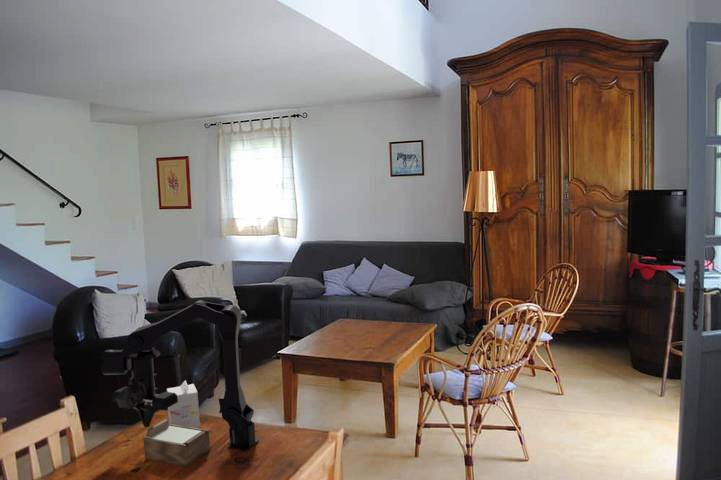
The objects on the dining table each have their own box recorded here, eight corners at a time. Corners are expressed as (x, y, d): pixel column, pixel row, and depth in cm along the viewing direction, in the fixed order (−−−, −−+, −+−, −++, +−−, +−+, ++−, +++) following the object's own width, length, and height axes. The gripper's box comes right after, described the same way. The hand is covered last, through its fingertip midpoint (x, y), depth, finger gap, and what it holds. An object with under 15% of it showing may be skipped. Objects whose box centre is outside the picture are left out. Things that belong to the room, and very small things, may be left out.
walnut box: (210, 450, 163) (208, 429, 162) (186, 467, 154) (184, 445, 153) (170, 443, 168) (168, 423, 167) (145, 459, 159) (143, 438, 158)
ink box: (168, 424, 182) (165, 382, 180) (195, 418, 185) (193, 377, 184) (172, 434, 174) (168, 391, 173) (200, 428, 178) (197, 386, 176)
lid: (202, 433, 162) (201, 424, 162) (182, 446, 154) (181, 436, 154) (165, 427, 167) (164, 418, 167) (144, 439, 159) (143, 430, 159)
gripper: (94, 379, 159) (99, 434, 160) (148, 386, 151) (152, 443, 153) (125, 366, 169) (129, 418, 170) (177, 372, 162) (180, 426, 163)
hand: (146, 426), depth 164 cm, fingers closed
